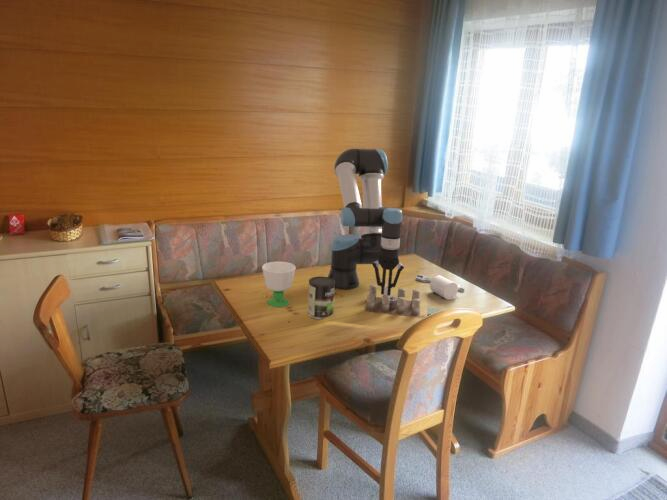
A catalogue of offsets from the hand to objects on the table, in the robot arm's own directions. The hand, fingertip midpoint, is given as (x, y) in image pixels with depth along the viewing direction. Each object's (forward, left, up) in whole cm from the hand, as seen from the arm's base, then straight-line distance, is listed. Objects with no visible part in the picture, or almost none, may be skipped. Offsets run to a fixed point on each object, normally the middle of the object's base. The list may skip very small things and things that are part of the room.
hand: (385, 301), depth 200 cm
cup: (-44, -7, -3) cm, 44 cm away
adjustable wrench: (+23, +34, -3) cm, 41 cm away
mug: (+26, +22, -3) cm, 35 cm away
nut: (+3, 0, -2) cm, 4 cm away
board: (+3, 0, -3) cm, 4 cm away
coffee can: (-25, -13, -3) cm, 28 cm away
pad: (+19, 0, -3) cm, 19 cm away
